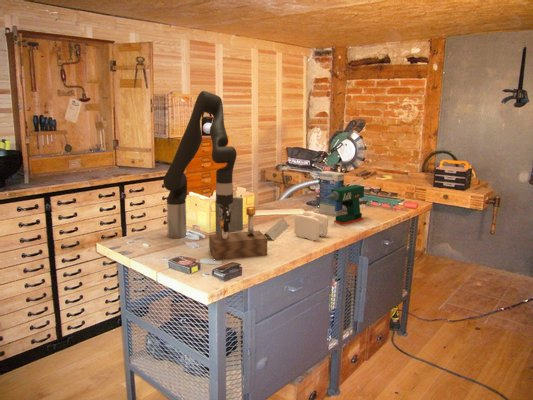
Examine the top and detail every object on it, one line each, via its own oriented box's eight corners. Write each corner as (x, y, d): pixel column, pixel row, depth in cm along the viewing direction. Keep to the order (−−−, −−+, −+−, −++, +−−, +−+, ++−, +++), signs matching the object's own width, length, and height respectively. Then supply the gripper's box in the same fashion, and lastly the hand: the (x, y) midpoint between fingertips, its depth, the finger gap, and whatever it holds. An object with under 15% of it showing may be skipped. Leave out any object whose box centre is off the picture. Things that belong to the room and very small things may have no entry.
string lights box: (342, 214, 269) (345, 173, 263) (335, 217, 263) (338, 174, 257) (324, 210, 277) (326, 170, 271) (317, 213, 272) (319, 171, 266)
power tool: (327, 229, 238) (329, 193, 233) (318, 226, 243) (319, 191, 238) (363, 219, 258) (365, 186, 254) (353, 217, 263) (355, 184, 259)
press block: (214, 260, 191) (214, 243, 189) (209, 251, 202) (209, 234, 200) (267, 255, 198) (267, 238, 196) (259, 246, 209) (259, 230, 207)
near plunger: (221, 254, 195) (221, 222, 192) (219, 251, 199) (219, 219, 196) (230, 253, 197) (230, 221, 193) (228, 251, 200) (228, 219, 197)
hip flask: (217, 234, 226) (217, 196, 222) (213, 232, 230) (213, 195, 225) (243, 229, 235) (243, 193, 231) (240, 228, 239) (239, 192, 234)
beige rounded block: (292, 235, 227) (293, 214, 224) (304, 231, 234) (305, 210, 232) (316, 242, 217) (317, 219, 214) (328, 237, 225) (329, 215, 222)
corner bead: (274, 242, 218) (275, 232, 216) (257, 240, 220) (257, 230, 219) (290, 226, 244) (290, 218, 243) (275, 225, 247) (275, 216, 246)
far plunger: (247, 241, 198) (247, 209, 194) (245, 238, 202) (245, 206, 198) (256, 240, 199) (256, 208, 196) (253, 237, 203) (253, 206, 199)
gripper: (212, 189, 197) (213, 226, 201) (219, 196, 184) (220, 235, 188) (229, 188, 199) (229, 225, 203) (236, 195, 186) (237, 234, 190)
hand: (224, 230), depth 195 cm, fingers closed on near plunger, 4 cm apart
